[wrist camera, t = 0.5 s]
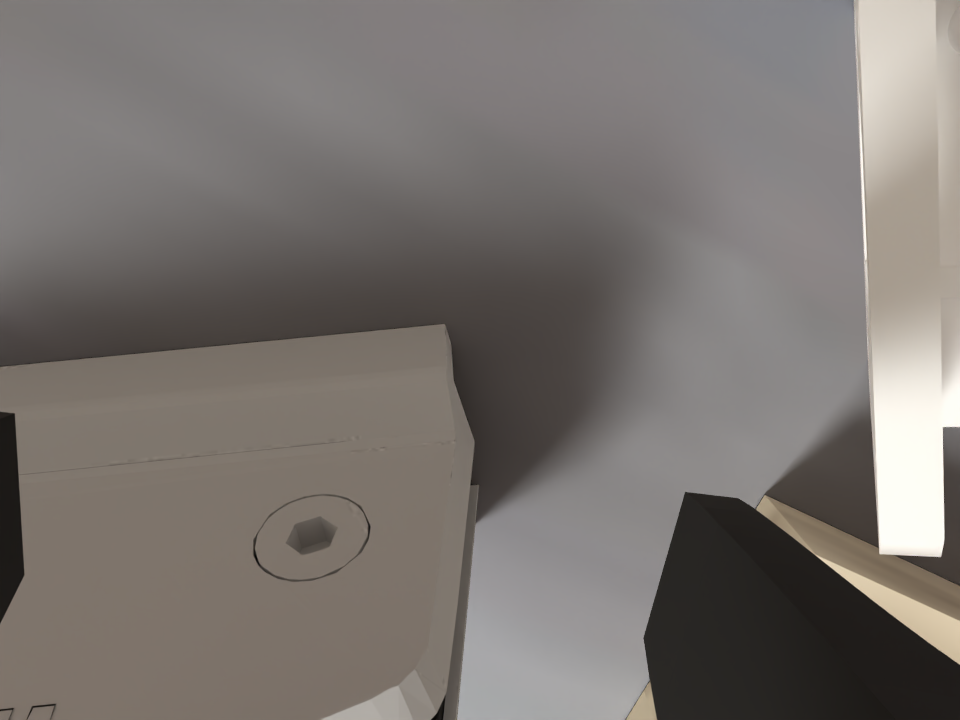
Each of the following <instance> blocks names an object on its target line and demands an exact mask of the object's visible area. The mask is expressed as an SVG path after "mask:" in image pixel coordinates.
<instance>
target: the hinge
mask: <svg viewBox="0 0 960 720" xmlns="http://www.w3.org/2000/svg"><path fill="white" fill-rule="evenodd" d="M0 412H8V413H15V423H16V440H17V457H18V473H19V490H20V507H21V524H22V540H23V557H24V574H25V575H24V577H23V579H22V581H21V583H20V585H19V587H18V589H17V591H16V593H15V595H14V597H13V599H12V601H11V603H10V605H9V607H8V609H7V611H6V613H5V615H4V617H3V619H2V621H1V623H0V720H457V714H458V703H459V692H460V682H461V671H462V661H463V650H464V639H465V629H466V618H467V608H468V597H469V586H470V576H471V565H472V555H473V544H474V533H475V523H476V512H477V502H478V491H479V485H470V483H471V473H472V464H473V454H474V445H475V441H474V438H473V435H472V433H471V430H470V427H469V424H468V421H467V418H466V415H465V412H464V409H463V406H462V404H461V401H460V398H459V395H458V392H457V389H456V386H455V383H454V379H453V364H452V349H451V342H450V339H449V335H448V332H447V328H446V325H445V324H440V325H430V326H419V327H409V328H398V329H388V330H378V331H367V332H357V333H347V334H336V335H326V336H316V337H305V338H295V339H284V340H274V341H264V342H253V343H243V344H233V345H222V346H212V347H201V348H191V349H181V350H170V351H160V352H150V353H139V354H129V355H119V356H108V357H98V358H87V359H77V360H67V361H56V362H46V363H36V364H25V365H15V366H4V367H0Z"/></svg>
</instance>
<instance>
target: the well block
mask: <svg viewBox="0 0 960 720" xmlns="http://www.w3.org/2000/svg"><path fill="white" fill-rule="evenodd" d="M756 510H757V511H758V512H760V513H761V514H763V515H764V516H765V517H767V518H768V519H769V520H771V521H772V522H773V523H775V524H776V525H777V526H779V527H780V528H781V529H782V530H784V531H785V532H786V533H788V534H789V535H790V536H792V537H793V538H794V539H795V540H797V541H798V542H799V543H800V544H802V545H803V546H804V547H806V548H807V549H808V550H809V551H811V552H812V553H813V554H814V555H816V556H817V557H818V558H819V559H821V560H822V561H823V562H824V563H826V564H827V565H828V566H830V567H831V568H832V569H833V570H835V571H836V572H837V573H838V574H840V575H841V576H842V577H843V578H845V579H846V580H847V581H848V582H850V583H851V584H852V585H854V586H855V587H856V588H857V589H859V590H860V591H861V592H863V593H864V594H865V595H866V596H868V597H869V598H870V599H872V600H873V601H874V602H875V603H877V604H878V605H879V606H881V607H882V608H883V609H885V610H886V611H887V612H888V613H890V614H891V615H892V616H894V617H895V618H896V619H898V620H899V621H900V622H902V623H903V624H904V625H906V626H907V627H908V628H910V629H911V630H912V631H914V632H915V633H916V634H918V635H919V636H920V637H922V638H923V639H924V640H926V641H927V642H928V643H930V644H931V645H933V646H934V647H936V648H937V649H938V650H940V651H941V652H943V653H944V654H945V655H947V656H948V657H950V658H951V659H952V660H954V661H955V662H957V663H958V664H959V665H960V586H959V585H956V584H954V583H952V582H950V581H948V580H946V579H944V578H942V577H939V576H937V575H935V574H933V573H931V572H929V571H927V570H924V569H922V568H920V567H918V566H916V565H914V564H912V563H909V562H907V561H905V560H903V559H901V558H899V557H897V556H894V555H886V554H879V548H877V547H875V546H873V545H871V544H869V543H867V542H865V541H862V540H860V539H858V538H856V537H854V536H852V535H850V534H847V533H845V532H843V531H841V530H839V529H837V528H835V527H832V526H830V525H828V524H826V523H824V522H822V521H820V520H817V519H815V518H813V517H811V516H809V515H807V514H805V513H802V512H800V511H798V510H796V509H794V508H792V507H790V506H788V505H785V504H783V503H781V502H779V501H777V500H775V499H773V498H770V497H768V496H766V495H764V497H763V498H762V500H761V502H760V503H759V505H758V507H757V508H756ZM626 720H657V717H656V712H655V706H654V700H653V695H652V689H651V684H650V681H649V683H648V685H647V686H646V688H645V689H644V691H643V693H642V694H641V696H640V698H639V699H638V701H637V702H636V704H635V706H634V707H633V709H632V711H631V712H630V714H629V715H628V717H627V719H626Z"/></svg>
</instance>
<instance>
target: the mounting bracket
mask: <svg viewBox="0 0 960 720" xmlns="http://www.w3.org/2000/svg"><path fill="white" fill-rule="evenodd" d="M854 21H855V46H856V71H857V96H858V121H859V146H860V171H861V195H862V220H863V245H864V270H865V295H866V320H867V345H868V369H869V390H870V407H871V424H872V440H873V456H874V473H875V489H876V506H877V522H878V539H879V554H886V555H908V556H929V557H941V555H942V550H943V545H944V482H943V427H960V0H854Z"/></svg>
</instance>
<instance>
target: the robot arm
mask: <svg viewBox="0 0 960 720" xmlns="http://www.w3.org/2000/svg"><path fill="white" fill-rule="evenodd" d="M24 575H25V574H24V557H23V540H22V524H21V507H20V490H19V473H18V457H17V440H16V423H15V413H8V412H0V623H1V621H2V619H3V617H4V615H5V613H6V611H7V609H8V607H9V605H10V603H11V601H12V599H13V597H14V595H15V593H16V591H17V589H18V587H19V585H20V583H21V581H22V579H23V577H24ZM644 644H645V650H646V657H647V664H648V670H649V677H650V684H651V689H652V695H653V700H654V706H655V712H656V717H657V720H960V665H959V664H958V663H957V662H955V661H954V660H952V659H951V658H950V657H948V656H947V655H945V654H944V653H943V652H941V651H940V650H938V649H937V648H936V647H934V646H933V645H931V644H930V643H928V642H927V641H926V640H924V639H923V638H922V637H920V636H919V635H918V634H916V633H915V632H914V631H912V630H911V629H910V628H908V627H907V626H906V625H904V624H903V623H902V622H900V621H899V620H898V619H896V618H895V617H894V616H892V615H891V614H890V613H888V612H887V611H886V610H885V609H883V608H882V607H881V606H879V605H878V604H877V603H875V602H874V601H873V600H872V599H870V598H869V597H868V596H866V595H865V594H864V593H863V592H861V591H860V590H859V589H857V588H856V587H855V586H854V585H852V584H851V583H850V582H848V581H847V580H846V579H845V578H843V577H842V576H841V575H840V574H838V573H837V572H836V571H835V570H833V569H832V568H831V567H830V566H828V565H827V564H826V563H824V562H823V561H822V560H821V559H819V558H818V557H817V556H816V555H814V554H813V553H812V552H811V551H809V550H808V549H807V548H806V547H804V546H803V545H802V544H800V543H799V542H798V541H797V540H795V539H794V538H793V537H792V536H790V535H789V534H788V533H786V532H785V531H784V530H782V529H781V528H780V527H779V526H777V525H776V524H775V523H773V522H772V521H771V520H769V519H768V518H767V517H765V516H764V515H763V514H761V513H760V512H758V511H757V510H755V509H754V508H753V507H751V506H750V505H748V504H746V503H745V502H743V501H742V500H740V499H738V498H731V497H722V496H714V495H705V494H697V493H688V492H685V495H684V498H683V502H682V505H681V509H680V512H679V516H678V519H677V523H676V526H675V530H674V533H673V537H672V540H671V544H670V547H669V551H668V554H667V558H666V561H665V565H664V568H663V572H662V575H661V579H660V582H659V586H658V589H657V593H656V596H655V600H654V603H653V607H652V610H651V614H650V617H649V621H648V624H647V628H646V631H645V635H644Z"/></svg>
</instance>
